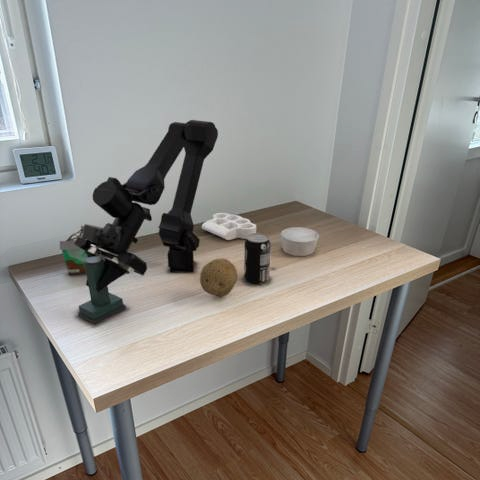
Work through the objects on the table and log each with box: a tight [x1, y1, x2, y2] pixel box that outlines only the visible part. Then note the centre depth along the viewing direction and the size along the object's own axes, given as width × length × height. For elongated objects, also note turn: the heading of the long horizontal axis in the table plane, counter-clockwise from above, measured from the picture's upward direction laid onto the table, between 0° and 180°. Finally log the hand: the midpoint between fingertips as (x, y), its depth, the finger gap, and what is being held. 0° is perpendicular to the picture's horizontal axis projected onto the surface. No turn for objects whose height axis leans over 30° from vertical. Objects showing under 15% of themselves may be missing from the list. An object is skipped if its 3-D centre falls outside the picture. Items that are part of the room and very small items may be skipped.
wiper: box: [77, 257, 127, 326], centre depth 105 cm, size 9×6×13 cm, turn 143°
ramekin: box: [280, 226, 320, 257], centre depth 138 cm, size 11×11×5 cm
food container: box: [59, 225, 88, 276], centre depth 125 cm, size 12×6×10 cm, turn 168°
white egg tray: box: [201, 212, 257, 241], centre depth 151 cm, size 3×18×15 cm
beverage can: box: [243, 232, 272, 286], centre depth 120 cm, size 7×7×12 cm
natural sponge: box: [199, 257, 238, 298], centre depth 112 cm, size 9×9×10 cm
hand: (92, 288), depth 103 cm, fingers closed on wiper, 3 cm apart
